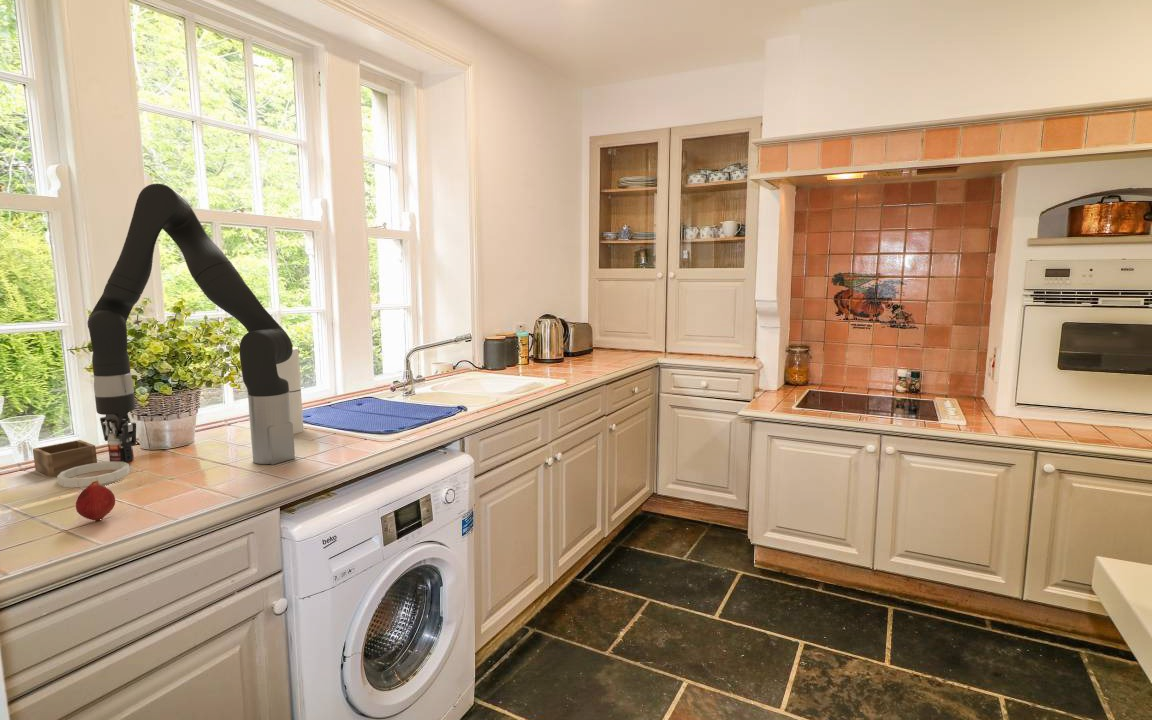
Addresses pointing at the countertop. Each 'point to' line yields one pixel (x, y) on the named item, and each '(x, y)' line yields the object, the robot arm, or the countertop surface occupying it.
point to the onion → (95, 501)
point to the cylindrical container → (293, 388)
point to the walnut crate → (63, 457)
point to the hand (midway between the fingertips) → (122, 460)
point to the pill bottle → (115, 449)
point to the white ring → (67, 481)
